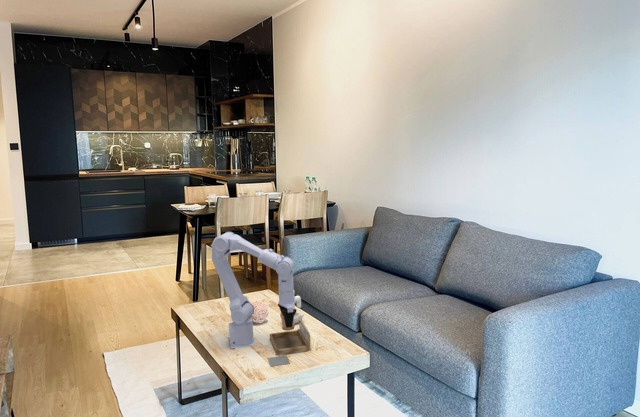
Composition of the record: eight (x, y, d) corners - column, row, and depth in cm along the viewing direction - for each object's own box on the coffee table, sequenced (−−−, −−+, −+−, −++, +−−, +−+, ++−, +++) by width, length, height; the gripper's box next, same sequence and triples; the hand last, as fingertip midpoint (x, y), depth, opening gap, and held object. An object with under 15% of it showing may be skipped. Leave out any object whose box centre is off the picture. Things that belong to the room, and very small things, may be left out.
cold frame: (276, 357, 179) (276, 340, 178) (269, 339, 195) (268, 324, 194) (311, 352, 182) (310, 335, 181) (301, 335, 198) (300, 320, 197)
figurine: (306, 322, 211) (304, 289, 209) (288, 328, 205) (287, 294, 203) (295, 318, 217) (294, 285, 215) (278, 324, 211) (276, 290, 209)
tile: (270, 368, 171) (270, 366, 171) (267, 359, 178) (267, 357, 177) (290, 365, 173) (290, 363, 172) (286, 356, 179) (286, 355, 179)
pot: (282, 331, 184) (281, 316, 183) (280, 327, 189) (279, 312, 189) (296, 329, 185) (295, 314, 185) (293, 325, 191) (292, 310, 190)
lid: (308, 352, 183) (308, 332, 182) (299, 336, 197) (299, 318, 196) (310, 351, 183) (309, 332, 182) (301, 336, 198) (300, 318, 196)
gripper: (300, 294, 179) (302, 330, 181) (292, 283, 193) (293, 316, 195) (281, 296, 178) (283, 332, 180) (275, 285, 191) (276, 318, 193)
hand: (287, 324), depth 187 cm, fingers closed on pot, 5 cm apart
